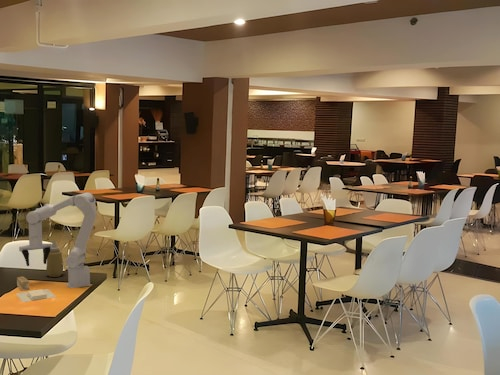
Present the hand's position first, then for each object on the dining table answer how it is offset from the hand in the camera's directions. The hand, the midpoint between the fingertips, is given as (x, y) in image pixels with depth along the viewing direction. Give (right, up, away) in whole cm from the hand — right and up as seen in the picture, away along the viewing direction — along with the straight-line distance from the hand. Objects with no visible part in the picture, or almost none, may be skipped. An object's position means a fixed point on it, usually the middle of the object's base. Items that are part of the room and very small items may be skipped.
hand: (36, 264), depth 263 cm
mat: (+6, -12, -17) cm, 22 cm away
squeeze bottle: (+3, -8, +15) cm, 18 cm away
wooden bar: (-4, -10, -6) cm, 13 cm away
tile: (+5, -10, -16) cm, 19 cm away
